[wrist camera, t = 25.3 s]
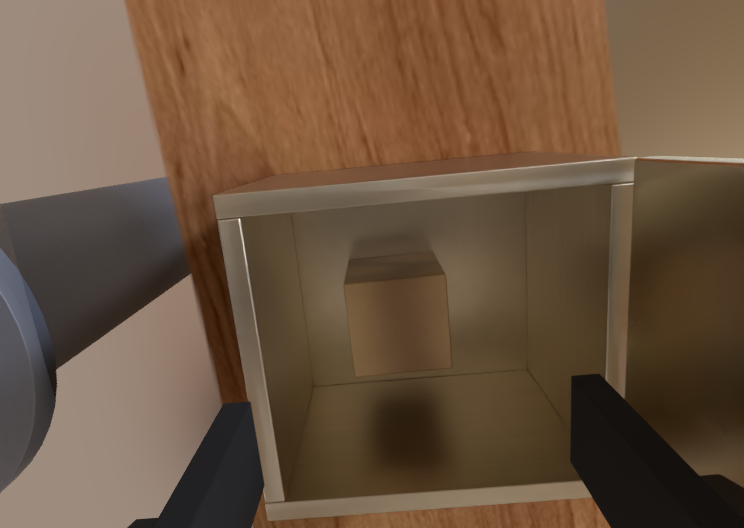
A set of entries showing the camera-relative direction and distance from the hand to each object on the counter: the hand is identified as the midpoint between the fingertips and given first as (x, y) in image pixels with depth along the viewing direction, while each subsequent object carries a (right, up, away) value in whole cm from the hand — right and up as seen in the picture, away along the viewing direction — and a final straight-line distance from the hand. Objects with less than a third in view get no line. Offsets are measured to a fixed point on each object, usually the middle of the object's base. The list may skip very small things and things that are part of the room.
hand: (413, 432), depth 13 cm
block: (0, +3, +12) cm, 13 cm away
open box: (+1, +4, +13) cm, 13 cm away
